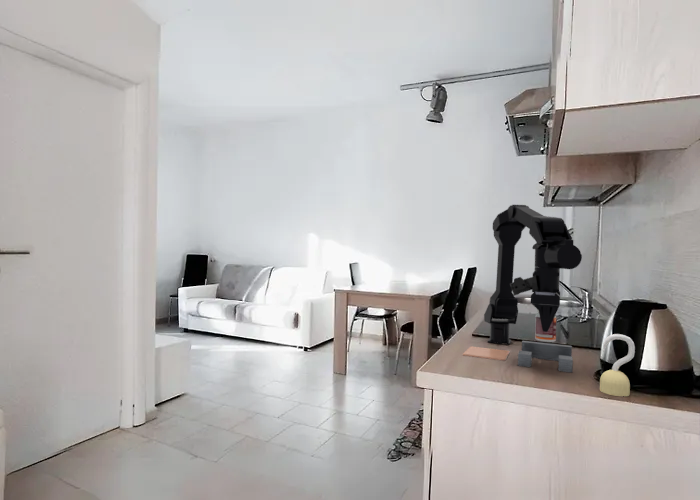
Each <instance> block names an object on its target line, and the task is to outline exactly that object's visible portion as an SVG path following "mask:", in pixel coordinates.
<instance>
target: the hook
mask: <svg viewBox="0 0 700 500" xmlns="http://www.w3.org/2000/svg"><path fill="white" fill-rule="evenodd" d="M614 340H621V341H624V342H626V344H627V345H628V346H627V347H628V352H627V355H625V356H624V357H622V358H619V359H618V360H616V361H615V362H614V363H613V365H612V367H611V369H609V370H606V371H604V372H603V373H602V374H601V376H600V379H599V391H600V392H601V393H603V394H605V395H610V396H615V397H623V396H624V397H629V396H630V391H631V390H630V389H631V384H630V380H629V377H628V376H627V375H626V374H625V373H624V372H622V371H621V370H619V369H620V367H621V366H622V365H624V364H627V363H628V362H630V361H631V360H632V359H634V357H635V353H636V351H635V350H636V346H635V343H634V341H633V339H632V338H631V337H629V336H627V335H625V334H620V333H614V334H610V335H608V336H607V337H606V338H605V339H604V341H603V349H602V350H603V351H602V353H604V352H605V349H606V348H607V346H608V345H609V343H610V342H612V341H614Z"/></svg>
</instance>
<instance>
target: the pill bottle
mask: <svg viewBox="0 0 700 500" xmlns="http://www.w3.org/2000/svg"><path fill="white" fill-rule="evenodd" d="M536 310H537V311H536V312H537V313H535V319H534V321H535V323H534V324H535V327H534V329H535V330H534V333H535V334H534V339H535V340H536V341H537V342H544V343H553V342H556V341H557V316H556V315H555V317H554V319H553V321H552V323H551V325H550V328H549V330H548V332H543V330H542V325H541V320H540V315H539V310H538V309H537V308H536Z"/></svg>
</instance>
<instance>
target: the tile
mask: <svg viewBox="0 0 700 500" xmlns="http://www.w3.org/2000/svg"><path fill="white" fill-rule="evenodd" d="M510 353H511V351H510V350H505V349H504V350H503V349H497V348H490V347H489V348H488V347H487V348H486V347H478V346H472V345H471V346H469V347H468V348H467V349H466V350H465V351H464V352H463V353H462V356H466V357H472V358H473V357H475V358H480V359H490V360H496V361H503V362H504V361H507V359H508V357H509V355H510Z"/></svg>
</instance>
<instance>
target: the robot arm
mask: <svg viewBox="0 0 700 500" xmlns="http://www.w3.org/2000/svg"><path fill="white" fill-rule="evenodd" d="M526 228H527V229H529V232H528V234H529V235H530V236H531V237H532V239H533V240H535V244H533V246H532V250H534V271H533V272H532V276H530V277H527V278H523V277H522V276H519V277H515V278H514V266H515V265H514V264H515V263H514V261H515V247H516V245H517V243H518V242H519V241H520V239H521V238H522V233H523V232H524V231H523V230H525V229H526ZM492 230H493V238H494V239H495V241H496V244H498V245H497V246H498V250H497V267H496V282H495V291H494V292H493V293H492V295H491V296H490V298H489V304H488V305H487V307H486V310H485V312H484V315H483V318H484V319H483V320H484V322H485V323H488V324H490V326H489V327H490V329H489V331H490V332H489V333H490V334H489V338H488V340H487V343H490V344H491V343H492V344H499V345H500V344H501V345H510V344H511V343H512V339H510V325H511V324H512V325H516V324H517V319H518V313H519V308H518V306H519V305H518V303H519V301H518V298H516V297H515V296H517V295H520V294H522V293H526V292H530V291H531V292H532V293H531V295H530V304H531V305H532V306H533V307H535V309H536V310H537V309H538V310H539V315H540V320H541V325H542V330H543V332H548V330H549V328H550V325H551V323H552V321H553V319H554V317H555V315H556V314H557V312H558V310H559V308H560V306H561V290H560V276H561V275H560V274H561V273H560V270H562V269H563V270H564V269H565V270H573V269H575V268H578V267H579V265H580V264H581V262H582V260H583V258H582V257H583V255H582V253H581V250H580V249H579V248H578V246H576V245H574V239H573V237H572V235H571V234H570V231H569V230H568V227H567V225H566V222H565V221H564V219H563V218H561V217H556V216H546V215H543V214H541V213H540V212H537V211H536V210H534V209H532V208H530V207H529V205H526V204H511V205H509V206H508V208H507V209H505V210H503V211H501V212H500V213H498V214H497V215H496V217H495V219H494V220H493V221H492Z"/></svg>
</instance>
